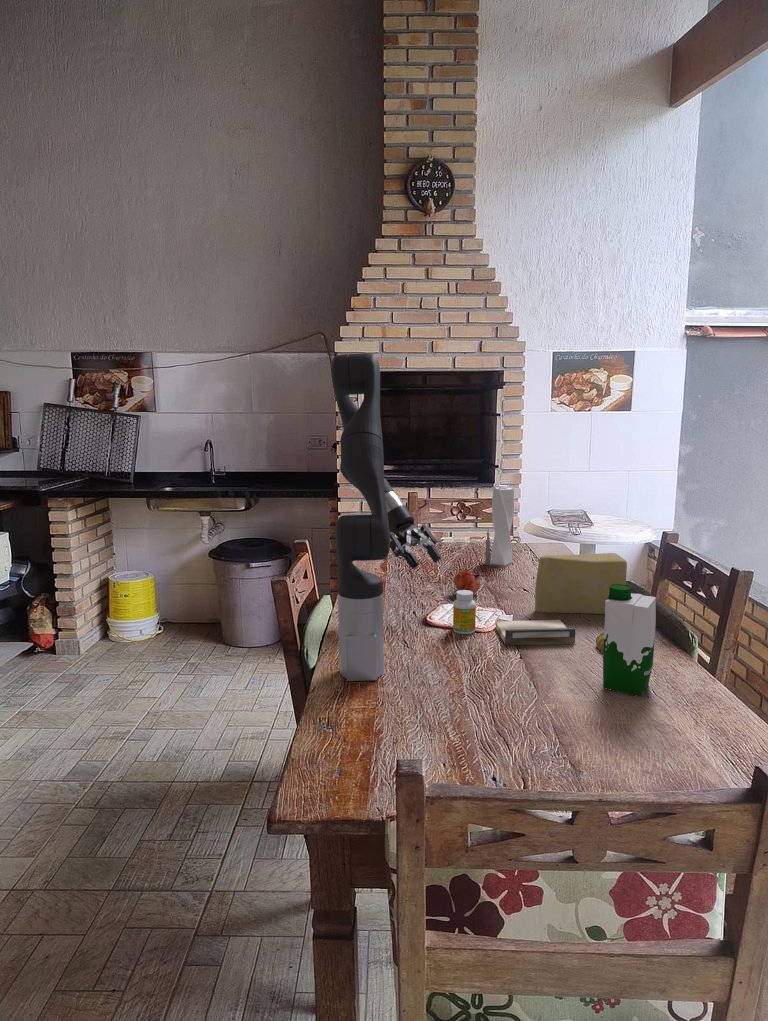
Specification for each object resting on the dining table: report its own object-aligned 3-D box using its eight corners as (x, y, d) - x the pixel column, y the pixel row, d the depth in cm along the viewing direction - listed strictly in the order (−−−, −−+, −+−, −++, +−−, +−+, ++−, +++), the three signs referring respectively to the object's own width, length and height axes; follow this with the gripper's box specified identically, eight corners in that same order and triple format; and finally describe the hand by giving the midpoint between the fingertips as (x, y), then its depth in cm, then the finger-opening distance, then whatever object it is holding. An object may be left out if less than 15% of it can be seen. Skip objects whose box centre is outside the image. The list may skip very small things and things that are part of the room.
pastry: (640, 660, 150) (641, 643, 149) (611, 662, 149) (612, 645, 148) (619, 644, 159) (620, 628, 158) (591, 646, 158) (592, 630, 157)
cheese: (539, 617, 177) (541, 560, 174) (531, 605, 186) (532, 551, 184) (625, 616, 177) (628, 559, 174) (612, 604, 186) (615, 550, 184)
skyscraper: (495, 559, 236) (497, 478, 231) (517, 563, 231) (519, 480, 226) (483, 564, 229) (485, 481, 224) (506, 568, 225) (508, 483, 220)
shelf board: (575, 644, 158) (575, 629, 158) (506, 645, 158) (506, 631, 157) (559, 625, 170) (560, 612, 170) (495, 627, 170) (495, 613, 169)
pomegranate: (452, 604, 195) (477, 588, 189) (440, 581, 197) (465, 565, 191) (466, 601, 200) (491, 585, 195) (455, 578, 202) (479, 562, 197)
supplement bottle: (460, 636, 164) (460, 596, 162) (449, 628, 169) (449, 590, 167) (479, 632, 166) (480, 593, 164) (468, 625, 171) (468, 587, 169)
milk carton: (608, 673, 142) (613, 579, 139) (655, 683, 137) (661, 586, 134) (597, 689, 135) (601, 590, 131) (645, 700, 130) (651, 598, 127)
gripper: (381, 508, 171) (417, 560, 165) (418, 500, 181) (453, 550, 175) (366, 526, 175) (400, 578, 170) (403, 518, 186) (436, 566, 180)
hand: (427, 563), depth 173 cm, fingers open, 8 cm apart
